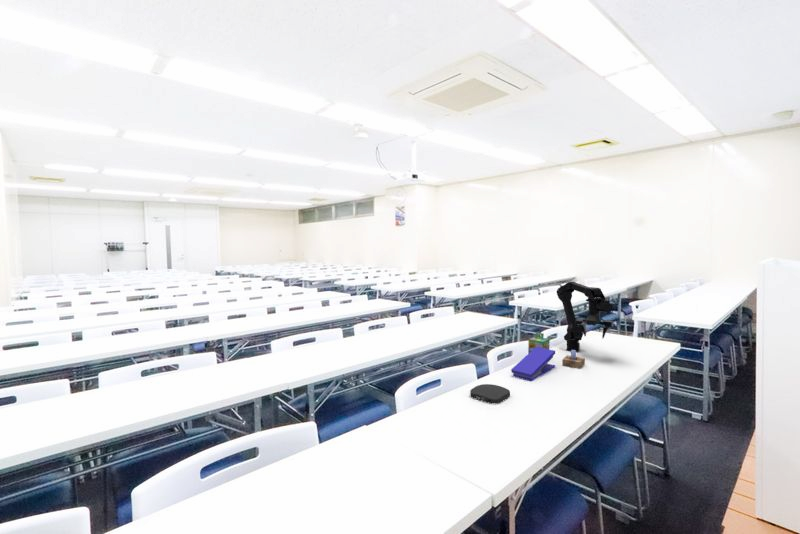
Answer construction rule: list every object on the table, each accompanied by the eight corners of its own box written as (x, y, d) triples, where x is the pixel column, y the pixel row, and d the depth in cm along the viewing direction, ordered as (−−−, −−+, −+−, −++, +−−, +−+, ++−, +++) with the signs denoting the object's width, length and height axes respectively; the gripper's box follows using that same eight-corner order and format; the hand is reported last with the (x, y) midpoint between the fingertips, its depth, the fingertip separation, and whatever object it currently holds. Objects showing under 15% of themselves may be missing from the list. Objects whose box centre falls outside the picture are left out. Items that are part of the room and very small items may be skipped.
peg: (570, 365, 209) (570, 350, 208) (571, 364, 211) (571, 349, 210) (575, 366, 207) (575, 351, 207) (576, 364, 209) (576, 350, 209)
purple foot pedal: (556, 367, 206) (556, 349, 206) (532, 382, 186) (532, 362, 186) (536, 363, 214) (535, 346, 214) (510, 376, 194) (510, 357, 194)
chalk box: (527, 359, 221) (527, 333, 220) (534, 355, 228) (534, 330, 227) (543, 362, 215) (543, 336, 214) (549, 358, 222) (549, 332, 221)
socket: (562, 365, 208) (562, 359, 208) (567, 361, 215) (567, 355, 215) (580, 368, 203) (580, 362, 203) (584, 364, 210) (584, 357, 210)
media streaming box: (513, 395, 171) (513, 389, 171) (496, 406, 161) (496, 399, 161) (484, 387, 181) (484, 381, 181) (466, 397, 171) (466, 390, 171)
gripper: (572, 310, 218) (572, 338, 219) (609, 314, 206) (609, 342, 207) (578, 307, 227) (577, 334, 228) (613, 310, 215) (613, 338, 216)
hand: (594, 337), depth 219 cm, fingers open, 9 cm apart
